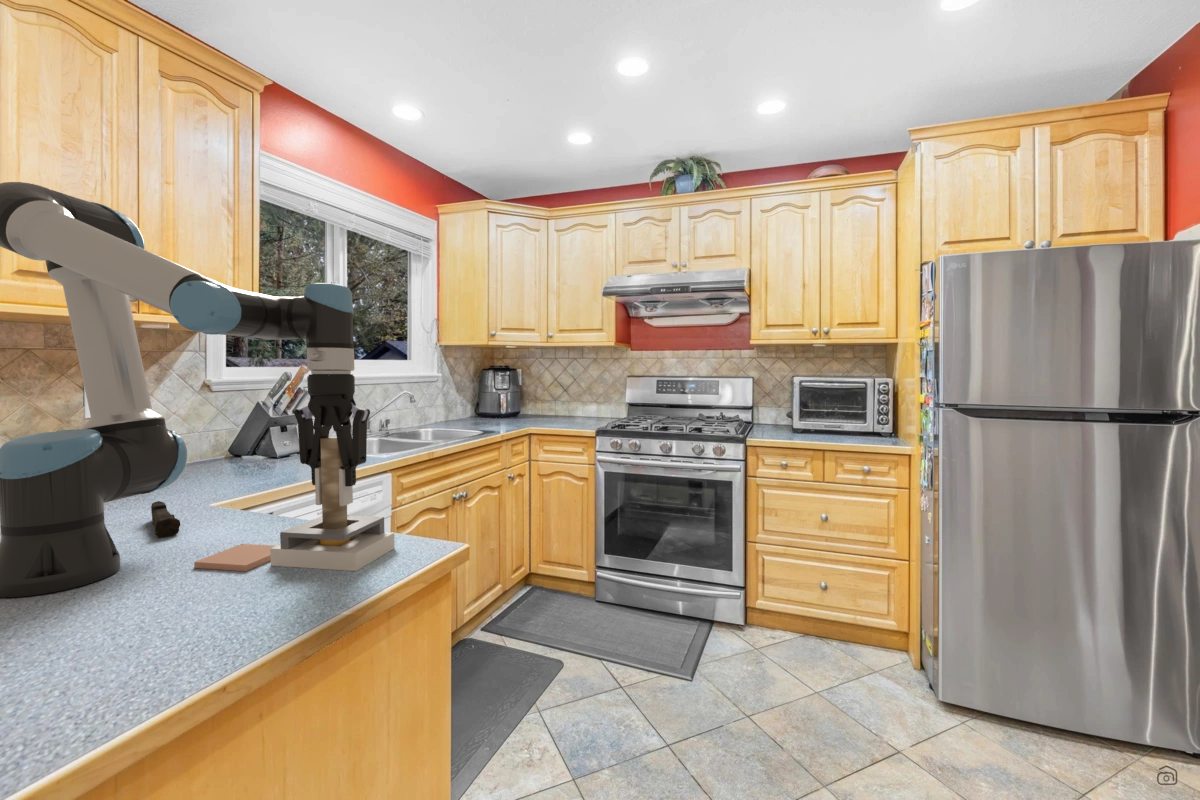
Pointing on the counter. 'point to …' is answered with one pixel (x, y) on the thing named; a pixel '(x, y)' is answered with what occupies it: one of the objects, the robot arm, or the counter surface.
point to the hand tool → (163, 520)
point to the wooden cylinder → (331, 485)
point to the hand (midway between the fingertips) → (334, 503)
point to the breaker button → (333, 541)
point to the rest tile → (237, 558)
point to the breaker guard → (307, 552)
